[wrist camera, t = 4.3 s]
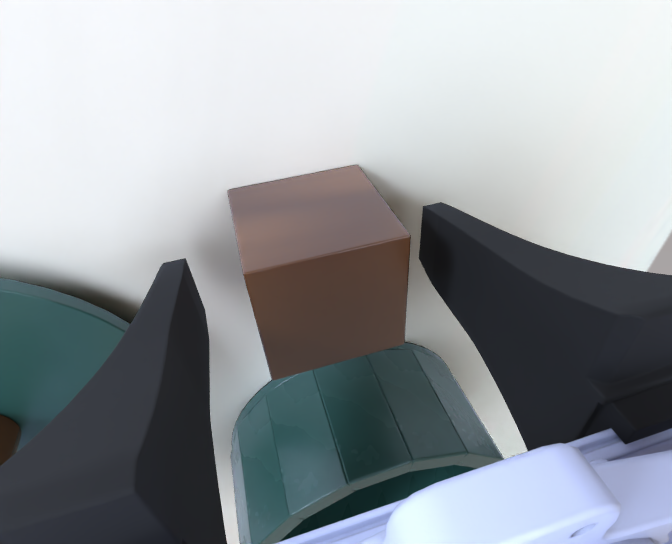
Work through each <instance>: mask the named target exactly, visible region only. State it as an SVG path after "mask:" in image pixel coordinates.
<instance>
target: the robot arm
mask: <svg viewBox="0 0 672 544" xmlns="http://www.w3.org/2000/svg"><path fill="white" fill-rule="evenodd" d="M419 259H420V261H421V263H422V266H423V268H424V270H425V272H426V274H427V275H428V277H429V279H430V281H431V283H432V285H433V286H434V287H435V289H436V290H437V292H438V293H439V295H440V296H441V297H442V299H443V300H444V302H445V303H446V305H447V306H448V307H449V309H450V310H451V311H452V313H453V314H454V316H455V317H456V318H457V320H458V321H459V323H460V324H461V325H462V327H463V328H464V330H465V331H466V332H467V334H468V335H469V337H470V338H471V340H472V341H473V343H474V344H475V346H476V348H477V349H478V351H479V353H480V355H481V357H482V358H483V360H484V362H485V364H486V366H487V367H488V369H489V371H490V373H491V375H492V377H493V379H494V381H495V382H496V384H497V386H498V388H499V390H500V392H501V394H502V396H503V398H504V400H505V402H506V404H507V406H508V408H509V410H510V412H511V414H512V417H513V419H514V421H515V423H516V425H517V427H518V429H519V431H520V434H521V436H522V438H523V440H524V443H525V445H526V447H527V450H528V452H525V453H522V454H519V455H516V456H513V457H510V458H507V459H504V460H501V461H498V462H495V463H493V464H490V465H487V466H484V467H481V468H478V469H475V470H472V471H469V472H466V473H463V474H460V475H457V476H454V477H451V478H449V479H446V480H443V481H440V482H437V483H435V484H432V485H430V486H428V487H426V488H424V489H421V490H419V491H417V492H415V493H413V494H412V495H410V496H409V497H408V498H406V499H403V500H400V501H397V502H394V503H391V504H388V505H385V506H383V507H380V508H377V509H374V510H371V511H368V512H365V513H362V514H359V515H356V516H353V517H351V518H348V519H345V520H342V521H339V522H336V523H333V524H330V525H327V526H324V527H321V528H318V529H316V530H313V531H310V532H307V533H304V534H301V535H298V536H295V537H292V538H289V539H286V540H284V541H281V542H278V543H275V544H672V275H664V274H656V273H649V272H643V271H637V270H632V269H626V268H620V267H616V266H611V265H606V264H602V263H598V262H594V261H589V260H585V259H581V258H578V257H574V256H570V255H567V254H564V253H561V252H558V251H554V250H551V249H548V248H545V247H542V246H540V245H537V244H534V243H531V242H529V241H526V240H524V239H521V238H519V237H517V236H514V235H512V234H509V233H507V232H505V231H502V230H500V229H498V228H496V227H494V226H492V225H489V224H487V223H485V222H483V221H481V220H479V219H477V218H475V217H473V216H471V215H468V214H466V213H464V212H462V211H460V210H458V209H456V208H454V207H451V206H449V205H447V204H444V203H442V202H440V203H436V204H431V205H427V206H423V213H422V226H421V238H420V251H419ZM0 544H227V541H226V535H225V529H224V522H223V515H222V508H221V501H220V494H219V487H218V480H217V472H216V464H215V456H214V448H213V439H212V431H211V422H210V378H209V335H208V328H207V321H206V314H205V309H204V306H203V304H202V301H201V298H200V296H199V293H198V290H197V288H196V285H195V282H194V280H193V277H192V274H191V272H190V269H189V266H188V264H187V261H186V258H185V259H180V260H175V261H171V262H166V263H163V264H162V266H161V267H160V269H159V271H158V273H157V275H156V277H155V280H154V282H153V284H152V286H151V288H150V290H149V292H148V294H147V295H146V297H145V299H144V301H143V303H142V305H141V306H140V308H139V310H138V312H137V314H136V316H135V317H134V319H133V321H132V322H131V324H130V325H129V327H128V329H127V330H126V332H125V333H124V335H123V336H122V338H121V340H120V341H119V343H118V344H117V346H116V347H115V348H114V350H113V351H112V353H111V354H110V355H109V357H108V358H107V360H106V361H105V362H104V363H103V365H102V366H101V367H100V369H99V370H98V371H97V372H96V374H95V375H94V376H93V377H92V378H91V379H90V380H89V382H88V383H87V384H86V385H85V386H84V387H83V388H82V389H81V390H80V392H79V393H78V394H77V395H76V396H75V397H74V398H73V399H72V400H71V402H70V403H69V404H68V405H67V406H66V407H65V408H64V409H63V410H62V411H61V412H60V413H59V414H58V415H57V416H56V417H55V418H54V419H53V420H52V421H51V422H50V423H49V424H48V425H47V426H45V427H44V428H43V429H42V430H41V431H40V432H39V433H38V434H37V435H36V436H35V437H34V438H33V439H31V440H30V441H29V442H28V443H27V444H26V445H25V446H24V447H22V448H21V449H20V450H19V451H18V452H16V453H15V454H14V455H13V456H12V457H11V458H9V459H8V460H7V461H6V462H5V463H3V464H2V465H1V466H0Z"/></svg>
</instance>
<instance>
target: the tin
mask: <svg viewBox="0 0 672 544" xmlns="http://www.w3.org/2000/svg"><path fill="white" fill-rule="evenodd" d="M501 460H504V458H503V456H502V454H501V453H500V451H499V449H498V448H497V446H496V445H495V443H494V441H493V440H492V438H491V436H490V435H489V433H488V431H487V430H486V428H485V427H484V425H483V423H482V422H481V420H480V418H479V417H478V415H477V413H476V412H475V410H474V409H473V407H472V405H471V404H470V402H469V400H468V399H467V397H466V395H465V394H464V392H463V391H462V389H461V387H460V386H459V384H458V382H457V381H456V379H455V378H454V376H453V375H452V373H451V372H450V370H449V368H448V367H447V365H446V364H445V362H444V361H443V360H442V359H441V358H440V357H439V356H438V355H436V354H435V353H434V352H432V351H430V350H428V349H426V348H424V347H422V346H418V345H415V344H411V343H405V342H404V344H403V345H400V346H396V347H393V348H389V349H386V350H382V351H378V352H375V353H371V354H368V355H364V356H360V357H357V358H353V359H350V360H346V361H342V362H339V363H335V364H332V365H328V366H324V367H321V368H317V369H313V370H310V371H306V372H303V373H299V374H295V375H292V376H288V377H285V378H281V379H277V380H272V381H271V382H269V383H268V384H267V385H266V386H265V387H263V388H262V389H261V390H260V391H259V392H258V393H257V394H256V395H255V396H254V397H253V398H252V399H251V400H250V401H249V402H248V404H247V405H246V406H245V408H244V409H243V410H242V412H241V414H240V416H239V417H238V419H237V421H236V424H235V427H234V430H233V434H232V452H231V463H232V473H233V483H234V493H235V502H236V512H237V522H238V531H239V541H240V544H275V543H278V542H281V541H284V540H286V539H289V538H292V537H295V536H298V535H301V534H304V533H307V532H310V531H313V530H316V529H318V528H321V527H324V526H327V525H330V524H333V523H336V522H339V521H342V520H345V519H348V518H351V517H353V516H356V515H359V514H362V513H365V512H368V511H371V510H374V509H377V508H380V507H383V506H385V505H388V504H391V503H394V502H397V501H400V500H403V499H406V498H408V497H409V496H410V495H412V494H413V493H415V492H417V491H419V490H421V489H424V488H426V487H428V486H430V485H432V484H435V483H437V482H440V481H443V480H446V479H449V478H451V477H454V476H457V475H460V474H463V473H466V472H469V471H472V470H475V469H478V468H481V467H484V466H487V465H490V464H493V463H495V462H498V461H501Z"/></svg>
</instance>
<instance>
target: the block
mask: <svg viewBox="0 0 672 544" xmlns="http://www.w3.org/2000/svg"><path fill="white" fill-rule="evenodd" d="M228 197H229V203H230V208H231V213H232V218H233V223H234V229H235V234H236V239H237V244H238V249H239V255H240V260H241V265H242V270H243V275H244V279H245V283H246V286H247V290H248V294H249V297H250V301H251V305H252V308H253V312H254V316H255V319H256V323H257V327H258V330H259V334H260V338H261V341H262V345H263V349H264V352H265V356H266V360H267V363H268V367H269V371H270V374H271V378H272V380H277V379H281V378H285V377H288V376H292V375H295V374H299V373H303V372H306V371H310V370H313V369H317V368H321V367H324V366H328V365H332V364H335V363H339V362H342V361H346V360H350V359H353V358H357V357H360V356H364V355H368V354H371V353H375V352H378V351H382V350H386V349H389V348H393V347H396V346H400V345H403V344H404V340H405V323H406V306H407V289H408V272H409V255H410V238H411V236H410V234H409V233H408V231H407V230H406V229H405V227H404V226H403V225H402V223H401V222H400V221H399V219H398V218H397V217H396V215H395V214H394V213H393V211H392V210H391V209H390V207H389V206H388V205H387V203H386V202H385V201H384V199H383V198H382V196H381V195H380V194H379V192H378V191H377V190H376V188H375V187H374V186H373V184H372V183H371V182H370V180H369V179H368V178H367V176H366V175H365V174H364V172H363V171H362V170H361V168H360V167H359V166H358V165H353V166H348V167H343V168H338V169H333V170H328V171H323V172H317V173H312V174H307V175H302V176H297V177H292V178H287V179H282V180H277V181H271V182H266V183H261V184H256V185H251V186H246V187H241V188H236V189H231V190H228Z"/></svg>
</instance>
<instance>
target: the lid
mask: <svg viewBox="0 0 672 544" xmlns="http://www.w3.org/2000/svg"><path fill="white" fill-rule="evenodd" d="M129 325H130V323H128V322H126V321H124V320H123V319H121V318H119V317H117V316H116V315H114V314H112V313H110V312H109V311H107V310H104V309H102V308H100V307H98V306H95V305H93V304H91V303H89V302H86V301H84V300H82V299H79V298H76V297H73V296H70V295H67V294H64V293H61V292H58V291H55V290H52V289H49V288H45V287H41V286H37V285H32V284H28V283H24V282H20V281H16V280H10V279H3V278H0V466H1V465H2V464H3V463H5V462H6V461H7V460H8V459H9V458H11V457H12V456H13V455H14V454H15V453H16V452H18V451H19V450H20V449H21V448H22V447H24V446H25V445H26V444H27V443H28V442H29V441H30V440H31V439H33V438H34V437H35V436H36V435H37V434H38V433H39V432H40V431H41V430H42V429H43V428H44V427H45V426H47V425H48V424H49V423H50V422H51V421H52V420H53V419H54V418H55V417H56V416H57V415H58V414H59V413H60V412H61V411H62V410H63V409H64V408H65V407H66V406H67V405H68V404H69V403H70V402H71V400H72V399H73V398H74V397H75V396H76V395H77V394H78V393H79V392H80V390H81V389H82V388H83V387H84V386H85V385H86V384H87V383H88V382H89V380H90V379H91V378H92V377H93V376H94V375H95V374H96V372H97V371H98V370H99V369H100V367H101V366H102V365H103V363H104V362H105V361H106V360H107V358H108V357H109V355H110V354H111V353H112V351H113V350H114V348H115V347H116V346H117V344H118V343H119V341H120V340H121V338H122V336H123V335H124V333H125V332H126V330H127V329H128V327H129Z"/></svg>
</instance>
